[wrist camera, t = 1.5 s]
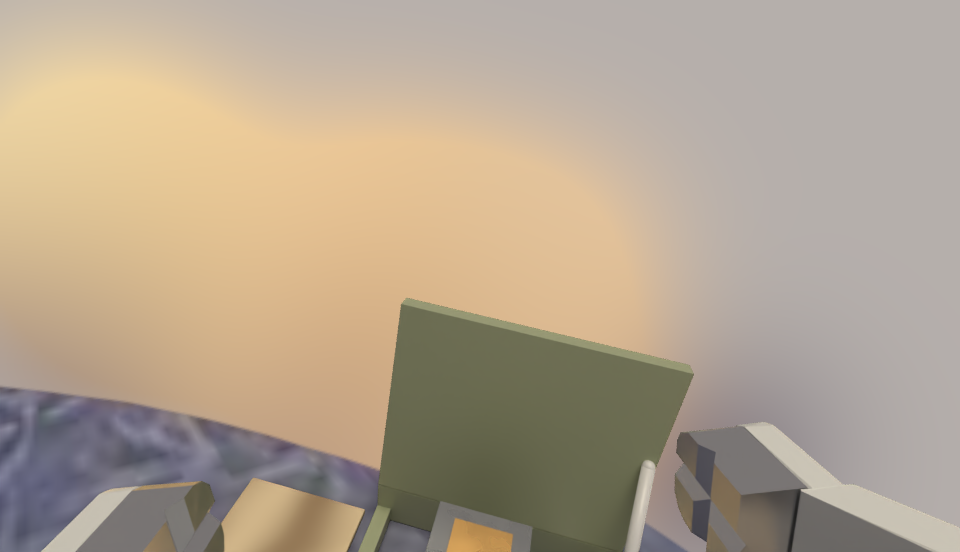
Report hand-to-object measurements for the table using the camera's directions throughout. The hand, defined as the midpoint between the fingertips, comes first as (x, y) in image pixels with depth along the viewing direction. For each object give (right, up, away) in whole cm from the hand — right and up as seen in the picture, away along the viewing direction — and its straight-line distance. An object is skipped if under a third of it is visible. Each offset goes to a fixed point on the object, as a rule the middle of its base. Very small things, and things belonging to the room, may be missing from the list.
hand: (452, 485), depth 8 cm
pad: (-13, -15, +23) cm, 31 cm away
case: (0, -19, +21) cm, 28 cm away
